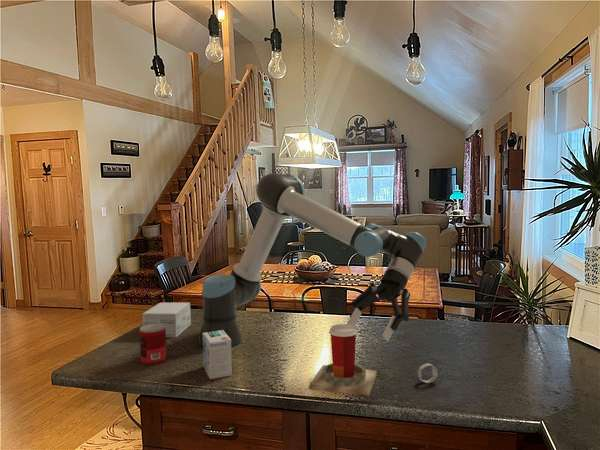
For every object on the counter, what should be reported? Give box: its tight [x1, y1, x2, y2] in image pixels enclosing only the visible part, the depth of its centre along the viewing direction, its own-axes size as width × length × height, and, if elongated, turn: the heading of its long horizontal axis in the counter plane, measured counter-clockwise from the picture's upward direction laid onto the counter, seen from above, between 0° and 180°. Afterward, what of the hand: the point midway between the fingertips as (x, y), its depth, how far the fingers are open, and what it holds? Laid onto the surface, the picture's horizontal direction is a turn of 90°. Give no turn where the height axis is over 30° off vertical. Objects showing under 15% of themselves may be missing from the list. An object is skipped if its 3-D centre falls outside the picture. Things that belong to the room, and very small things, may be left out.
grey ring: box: [417, 363, 438, 384], centre depth 122 cm, size 3×5×5 cm, turn 102°
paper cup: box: [328, 323, 358, 378], centre depth 123 cm, size 8×8×14 cm
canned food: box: [139, 324, 167, 366], centre depth 141 cm, size 8×8×11 cm
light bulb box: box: [202, 330, 233, 380], centre depth 132 cm, size 11×7×11 cm, turn 23°
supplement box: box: [142, 302, 192, 338], centre depth 173 cm, size 17×13×9 cm
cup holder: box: [308, 362, 378, 397], centre depth 123 cm, size 16×14×3 cm
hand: (366, 333), depth 128 cm, fingers open, 13 cm apart
